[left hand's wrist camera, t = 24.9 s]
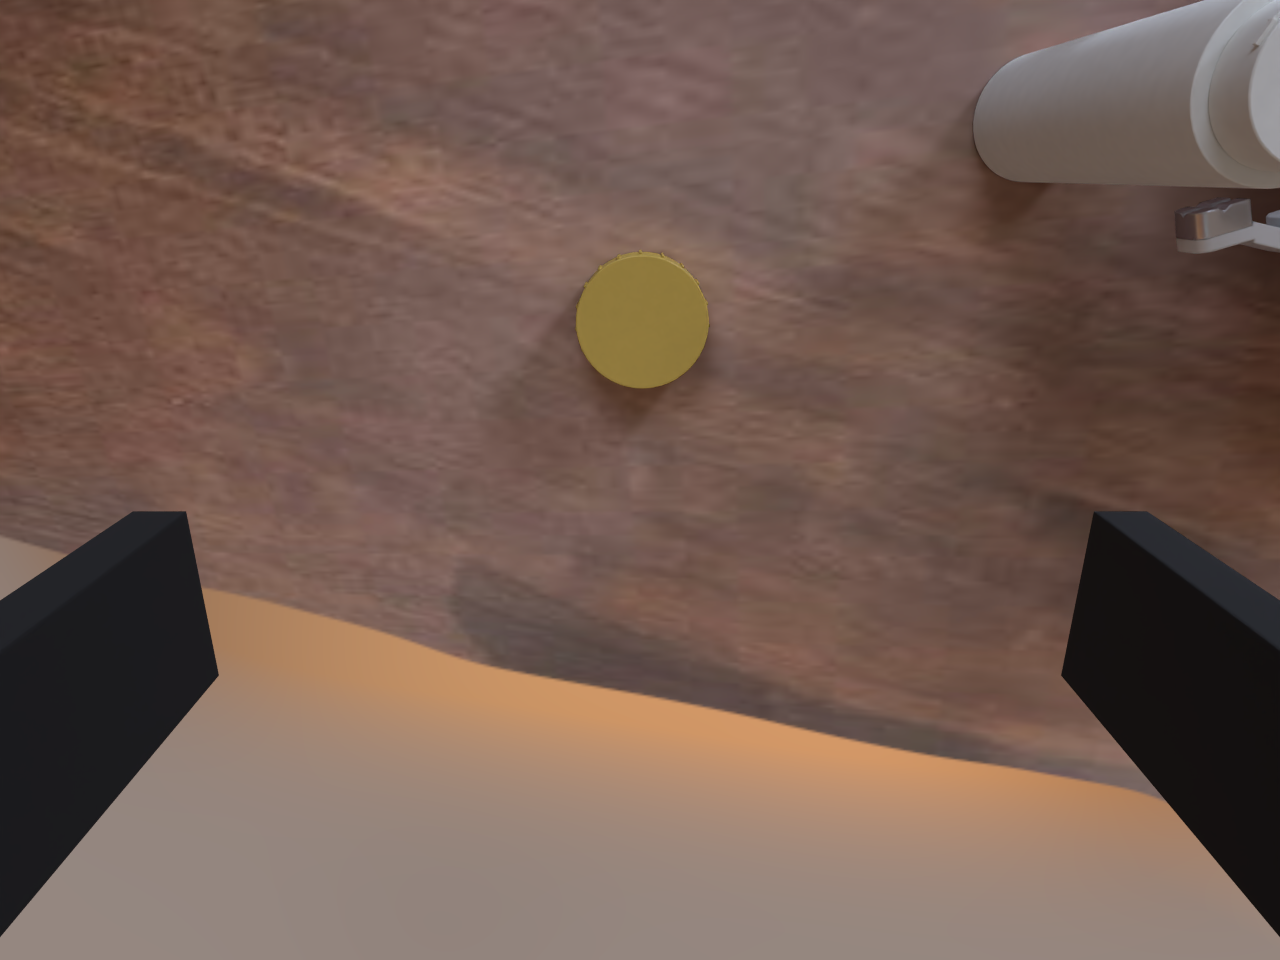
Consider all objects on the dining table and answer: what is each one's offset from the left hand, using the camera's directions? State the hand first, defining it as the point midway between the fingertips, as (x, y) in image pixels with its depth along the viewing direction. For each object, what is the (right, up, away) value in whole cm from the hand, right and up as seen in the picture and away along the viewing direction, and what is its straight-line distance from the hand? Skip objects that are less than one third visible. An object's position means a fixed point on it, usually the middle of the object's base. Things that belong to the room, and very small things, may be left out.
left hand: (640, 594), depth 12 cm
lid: (0, +8, +24) cm, 26 cm away
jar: (+16, +17, +23) cm, 32 cm away
